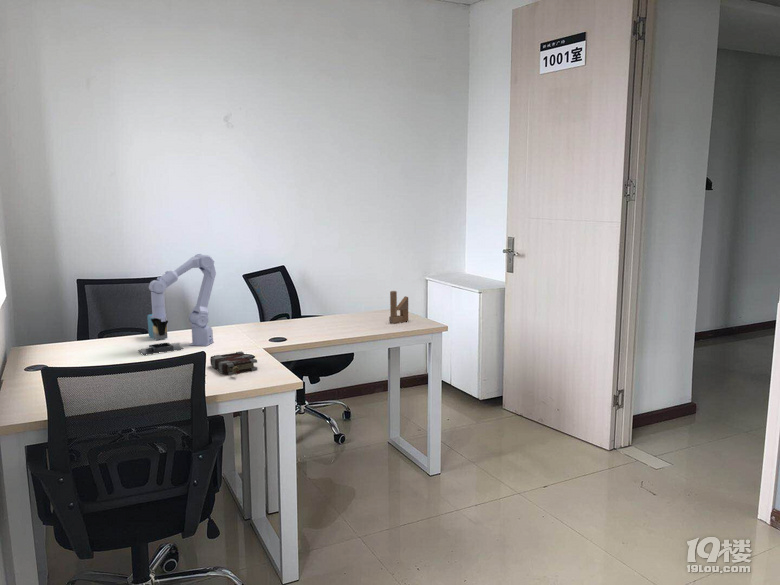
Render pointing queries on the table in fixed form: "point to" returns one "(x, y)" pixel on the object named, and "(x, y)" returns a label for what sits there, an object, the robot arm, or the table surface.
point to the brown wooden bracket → (398, 308)
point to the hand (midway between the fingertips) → (160, 334)
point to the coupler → (156, 333)
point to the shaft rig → (160, 348)
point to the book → (233, 363)
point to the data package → (150, 326)
